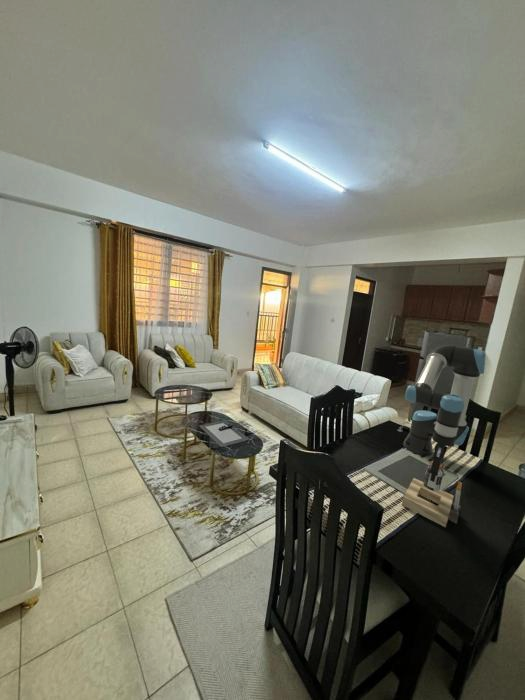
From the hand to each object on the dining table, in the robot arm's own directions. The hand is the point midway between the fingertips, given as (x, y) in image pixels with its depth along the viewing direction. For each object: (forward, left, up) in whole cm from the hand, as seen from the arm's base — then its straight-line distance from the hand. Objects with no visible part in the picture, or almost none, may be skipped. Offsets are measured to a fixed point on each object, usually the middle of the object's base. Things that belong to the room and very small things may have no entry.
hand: (432, 483), depth 118 cm
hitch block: (0, +2, -10) cm, 11 cm away
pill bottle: (0, 0, -2) cm, 2 cm away
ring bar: (0, +10, -8) cm, 13 cm away
